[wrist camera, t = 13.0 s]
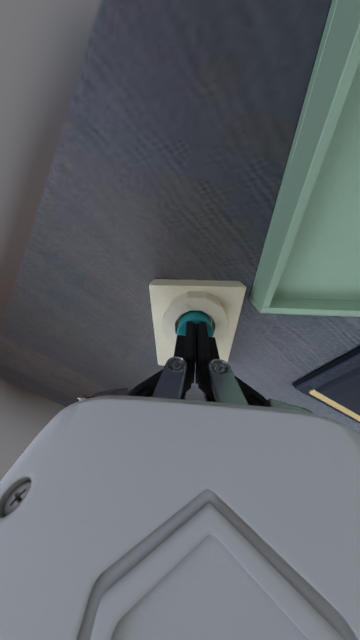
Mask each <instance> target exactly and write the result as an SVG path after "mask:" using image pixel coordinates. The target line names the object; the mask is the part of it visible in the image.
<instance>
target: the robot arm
mask: <svg viewBox="0 0 360 640" xmlns="http://www.w3.org/2000/svg"><path fill="white" fill-rule="evenodd" d="M195 371H196V383H197V384H198V386H199V388H200V389H201V390H202V391H203V392H204V398H205V401H193V400H185V396H186V392H187V391H188V390H189V389H190V388H191V383H194V373H195ZM0 640H360V433H359V432H357V431H355V430H353V429H351V428H350V427H348V426H346V425H343V424H341V423H339V422H336V421H334V420H332V419H329V418H326V417H323V416H320V415H316V414H314V413H312V412H311V411H310V410H307V409H305V408H301V407H298V406H294V405H291V404H287V403H284V402H280V401H277V400H273V399H270V398H269V400H267V399H265V398H264V397H263V396H262V395H261V394H259V393H258V392H257V391H255V390H254V389H252V388H251V387H250V386H248V385H247V384H245V383H244V382H243V381H241V380H240V379H238V378H237V377H236V376H234V374H233V372H232V370H231V367H230V366H229V364H228V363H227V362H226V361H224V360H221V359H220V357H219V353H218V348H217V344H216V339H215V337H208V332H207V325H206V322H199V323H197V330H196V335H195V323H193V321H187V323H186V336H183V335H177V339H176V345H175V351H174V357H171V358H169V359H168V360H167V362H166V364H165V366H164V369H163V370H161V371H159V372H158V373H156V374H155V375H153V376H152V377H150V378H148V379H147V380H145V381H144V382H142V383H141V384H139V385H138V386H136V387H135V388H134V389H130V388H123V389H116V390H109V391H102V392H98V393H96V394H94V395H92V396H91V397H90V398H88V399H85V400H81V401H78V402H76V403H74V404H71V405H69V406H68V407H66V408H65V409H63V410H62V411H60V412H59V413H58V414H57V415H56V416H55V417H54V418H53V419H52V420H51V421H50V422H49V423H48V424H47V425H46V426H45V427H44V429H43V430H42V431H41V432H40V433H39V435H37V437H36V438H35V439H34V440H33V441H32V442H31V444H30V445H29V446H28V447H27V449H26V450H25V451H24V452H23V454H22V455H21V456H20V457H19V459H18V460H17V461H16V462H15V464H14V465H13V466H12V468H11V469H10V470H9V471H8V472H7V474H6V475H5V476H4V477H3V479H2V480H1V482H0Z"/></svg>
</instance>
